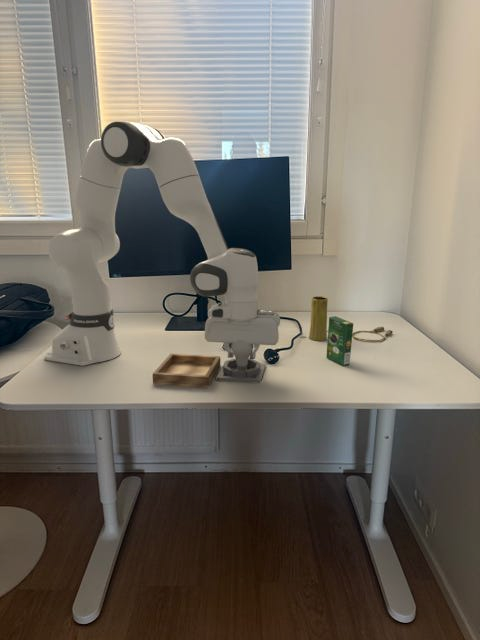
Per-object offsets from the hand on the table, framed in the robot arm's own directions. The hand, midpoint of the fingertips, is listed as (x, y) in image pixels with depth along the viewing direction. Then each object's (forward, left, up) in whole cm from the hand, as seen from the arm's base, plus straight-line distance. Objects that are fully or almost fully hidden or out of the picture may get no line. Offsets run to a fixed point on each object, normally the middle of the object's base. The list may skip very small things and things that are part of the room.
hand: (241, 357), depth 122 cm
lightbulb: (0, 0, -5) cm, 5 cm away
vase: (+21, +34, -5) cm, 40 cm away
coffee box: (+27, +13, -5) cm, 30 cm away
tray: (-14, -3, -5) cm, 16 cm away
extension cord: (+40, +39, -5) cm, 56 cm away
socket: (0, 0, -5) cm, 5 cm away
